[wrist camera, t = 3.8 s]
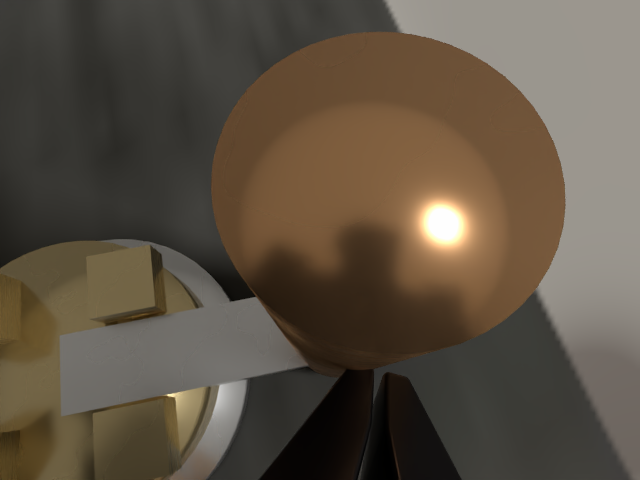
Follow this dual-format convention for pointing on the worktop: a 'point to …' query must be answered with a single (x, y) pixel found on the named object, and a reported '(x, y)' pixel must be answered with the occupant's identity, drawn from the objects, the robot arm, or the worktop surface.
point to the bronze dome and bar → (289, 257)
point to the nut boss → (229, 395)
